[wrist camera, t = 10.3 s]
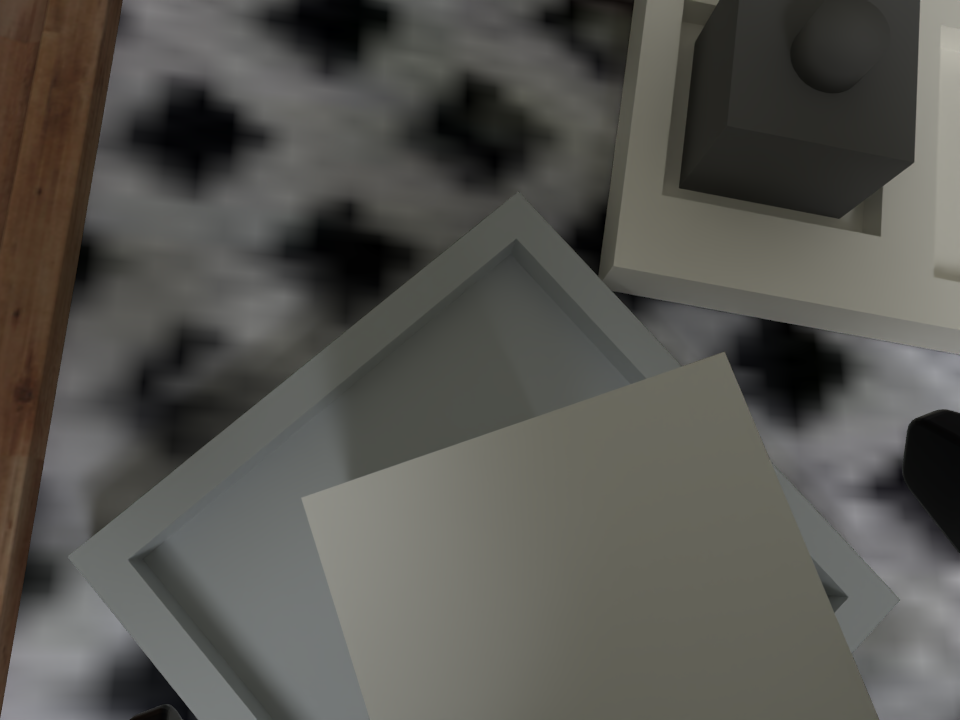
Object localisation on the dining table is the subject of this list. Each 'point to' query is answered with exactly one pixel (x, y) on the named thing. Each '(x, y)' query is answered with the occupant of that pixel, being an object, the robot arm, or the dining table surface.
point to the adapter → (589, 570)
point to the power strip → (783, 232)
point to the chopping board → (40, 239)
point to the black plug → (802, 102)
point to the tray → (373, 447)
